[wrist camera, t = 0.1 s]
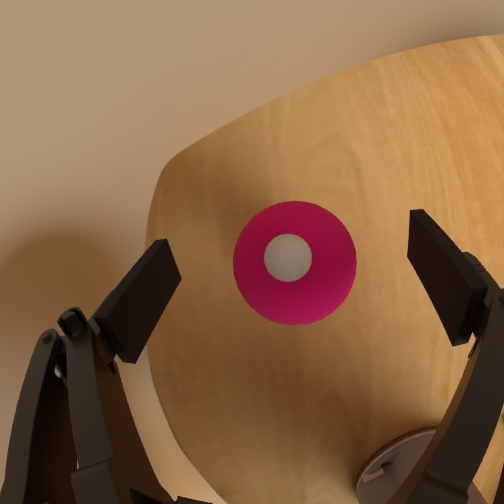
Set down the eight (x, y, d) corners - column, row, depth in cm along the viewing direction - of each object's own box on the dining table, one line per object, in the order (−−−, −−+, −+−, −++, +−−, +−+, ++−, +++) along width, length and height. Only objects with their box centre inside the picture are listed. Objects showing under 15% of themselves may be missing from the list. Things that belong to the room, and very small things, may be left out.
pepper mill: (351, 291, 28) (416, 313, 8) (287, 317, 29) (227, 382, 10) (326, 227, 29) (335, 130, 10) (263, 253, 30) (166, 205, 11)
